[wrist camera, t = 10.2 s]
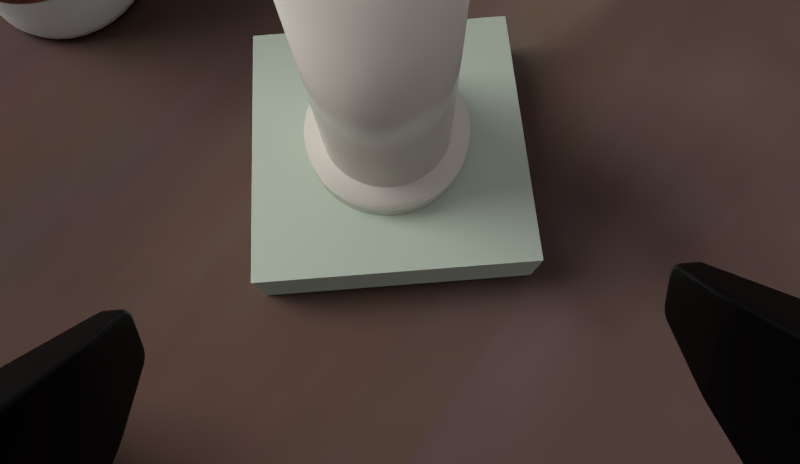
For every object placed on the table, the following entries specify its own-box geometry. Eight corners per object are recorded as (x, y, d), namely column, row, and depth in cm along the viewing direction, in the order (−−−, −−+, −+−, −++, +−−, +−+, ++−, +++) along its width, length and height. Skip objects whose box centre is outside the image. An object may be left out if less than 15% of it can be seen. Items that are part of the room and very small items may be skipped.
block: (530, 275, 23) (543, 260, 21) (267, 295, 23) (250, 283, 21) (497, 50, 26) (505, 16, 24) (267, 68, 26) (253, 35, 24)
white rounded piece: (498, 122, 22) (570, -127, 12) (407, 246, 21) (401, 87, 10) (370, 47, 24) (335, -239, 13) (277, 159, 22) (154, -61, 12)
